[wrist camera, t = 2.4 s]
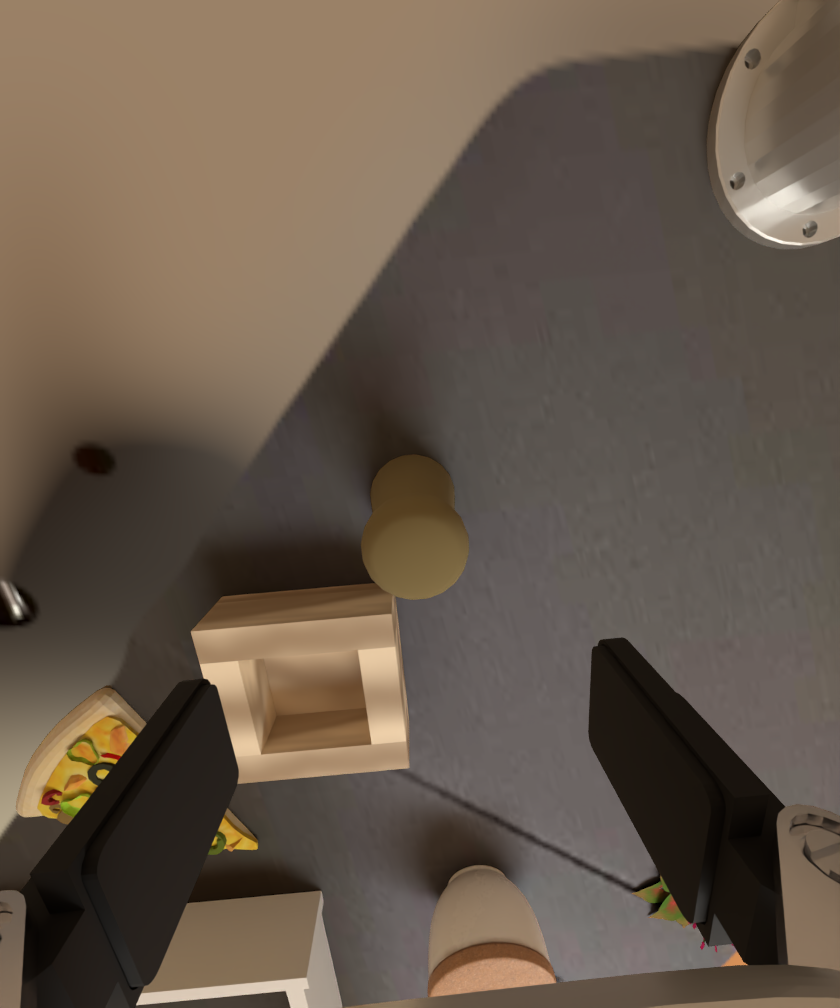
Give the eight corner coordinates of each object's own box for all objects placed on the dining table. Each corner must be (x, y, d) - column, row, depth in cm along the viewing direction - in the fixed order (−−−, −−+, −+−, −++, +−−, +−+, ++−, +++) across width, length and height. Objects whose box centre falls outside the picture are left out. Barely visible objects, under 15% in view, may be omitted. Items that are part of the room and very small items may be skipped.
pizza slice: (95, 670, 32) (64, 698, 29) (307, 786, 36) (298, 820, 33) (15, 786, 35) (-21, 822, 32) (219, 880, 39) (203, 920, 36)
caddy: (222, 596, 30) (190, 631, 25) (393, 581, 30) (391, 613, 25) (256, 733, 33) (233, 784, 29) (408, 719, 33) (409, 767, 29)
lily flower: (700, 821, 39) (738, 876, 34) (767, 874, 41) (811, 932, 37) (607, 886, 41) (631, 946, 36) (676, 933, 43) (707, 994, 39)
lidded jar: (404, 873, 39) (403, 1020, 30) (502, 832, 37) (532, 972, 28) (454, 934, 41) (468, 1085, 32) (547, 897, 40) (587, 1043, 31)
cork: (371, 451, 27) (348, 490, 16) (459, 457, 27) (491, 499, 17) (368, 533, 29) (345, 617, 18) (450, 538, 29) (475, 623, 18)
